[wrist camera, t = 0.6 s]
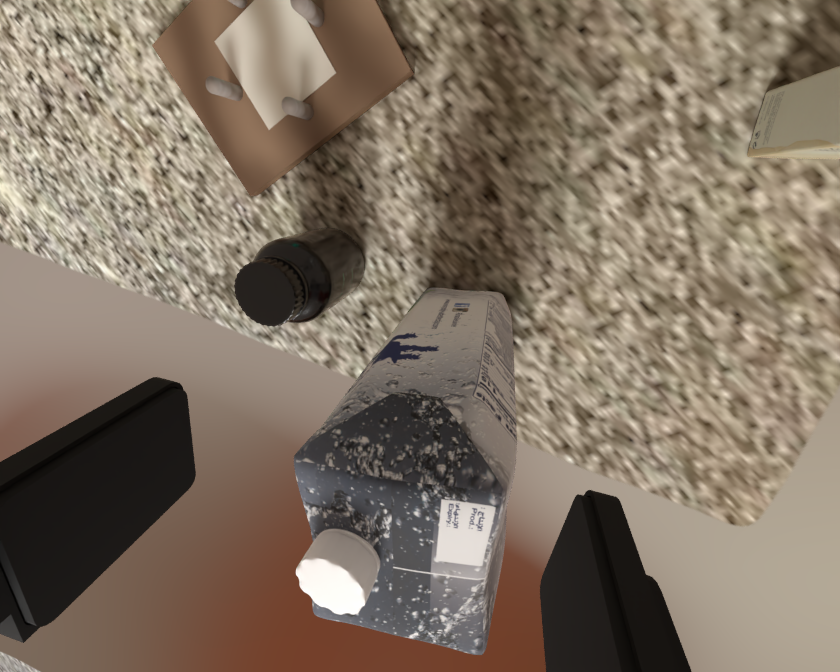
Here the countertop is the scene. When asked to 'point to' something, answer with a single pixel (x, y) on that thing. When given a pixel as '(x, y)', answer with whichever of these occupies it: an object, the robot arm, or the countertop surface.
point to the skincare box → (800, 120)
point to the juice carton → (417, 477)
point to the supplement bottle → (299, 277)
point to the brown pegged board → (280, 75)
